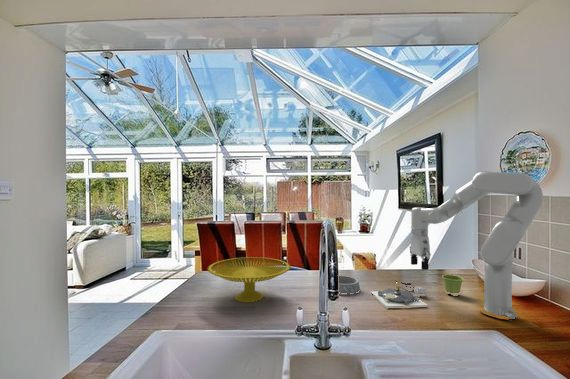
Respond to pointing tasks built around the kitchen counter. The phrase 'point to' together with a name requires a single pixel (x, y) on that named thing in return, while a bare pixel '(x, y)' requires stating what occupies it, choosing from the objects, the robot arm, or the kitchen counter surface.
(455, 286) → the plant pot
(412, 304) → the base plate
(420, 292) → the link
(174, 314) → the kitchen counter surface
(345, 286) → the dog bowl
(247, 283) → the cake stand
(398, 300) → the sprocket
